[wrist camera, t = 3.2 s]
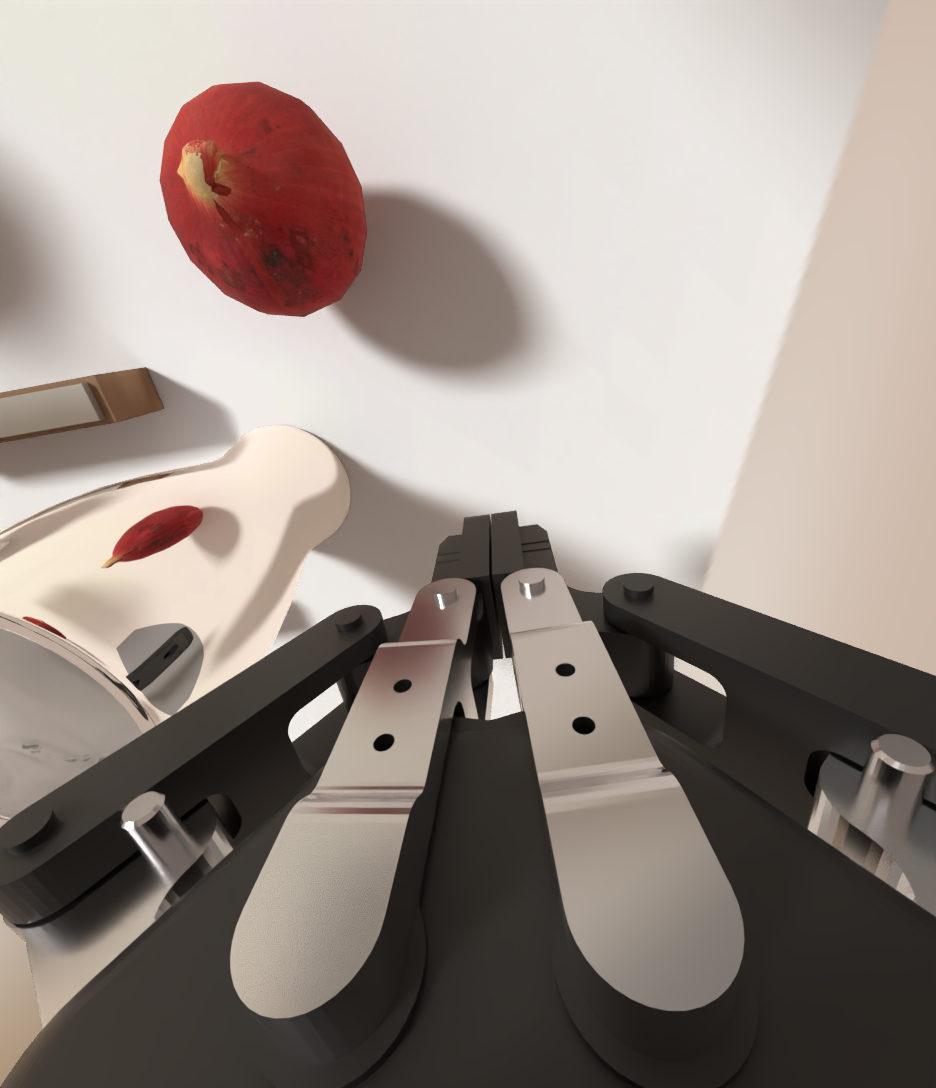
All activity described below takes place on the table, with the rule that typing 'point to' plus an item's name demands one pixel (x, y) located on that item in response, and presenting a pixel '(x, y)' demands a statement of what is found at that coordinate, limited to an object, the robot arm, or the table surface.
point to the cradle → (77, 404)
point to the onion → (264, 199)
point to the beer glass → (150, 599)
